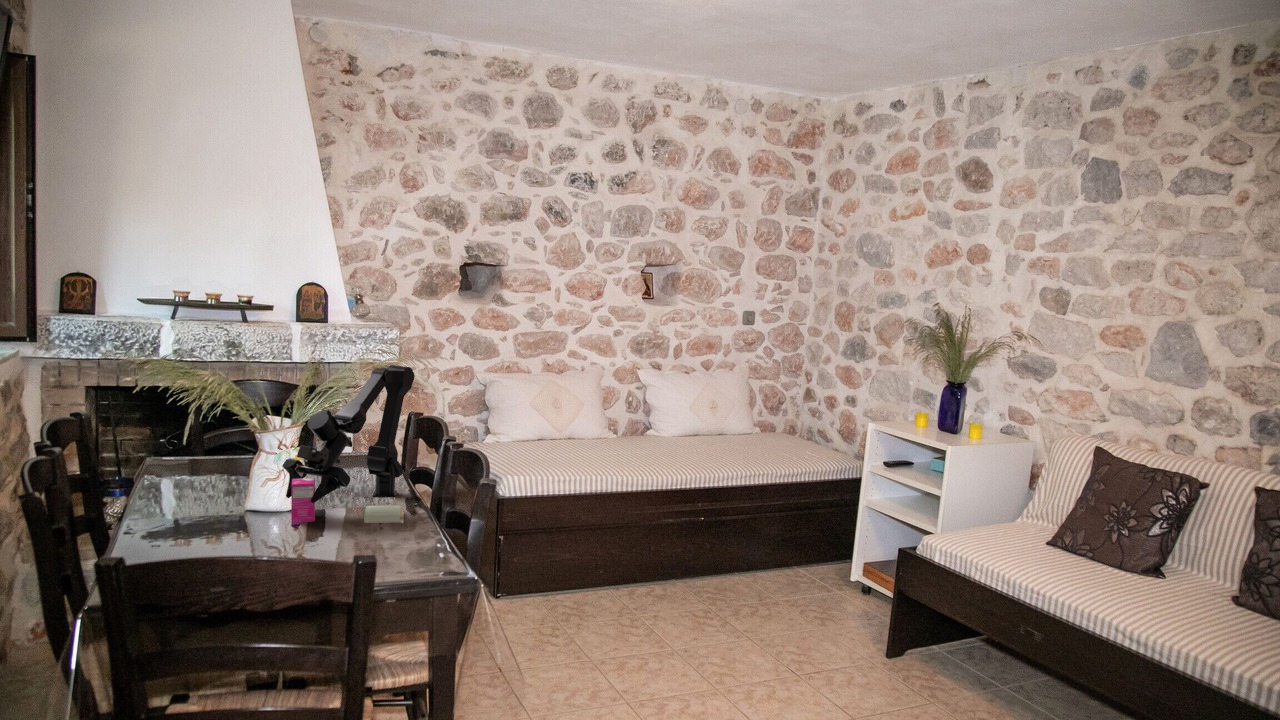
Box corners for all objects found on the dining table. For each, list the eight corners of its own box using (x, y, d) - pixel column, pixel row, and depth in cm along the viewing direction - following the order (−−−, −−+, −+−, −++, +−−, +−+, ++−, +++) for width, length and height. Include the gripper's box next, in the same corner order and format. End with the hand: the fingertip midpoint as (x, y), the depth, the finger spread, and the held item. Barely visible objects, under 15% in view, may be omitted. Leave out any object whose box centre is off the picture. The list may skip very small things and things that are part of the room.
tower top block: (366, 513, 227) (366, 505, 227) (400, 512, 229) (400, 505, 229) (364, 522, 218) (364, 515, 218) (399, 522, 221) (399, 515, 220)
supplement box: (291, 520, 220) (292, 478, 219) (315, 519, 222) (316, 477, 221) (290, 527, 214) (291, 483, 213) (314, 526, 217) (316, 483, 215)
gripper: (288, 429, 223) (255, 477, 214) (344, 438, 216) (312, 488, 207) (308, 452, 231) (277, 500, 222) (363, 462, 224) (333, 511, 215)
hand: (299, 499), depth 216 cm, fingers closed on supplement box, 8 cm apart
